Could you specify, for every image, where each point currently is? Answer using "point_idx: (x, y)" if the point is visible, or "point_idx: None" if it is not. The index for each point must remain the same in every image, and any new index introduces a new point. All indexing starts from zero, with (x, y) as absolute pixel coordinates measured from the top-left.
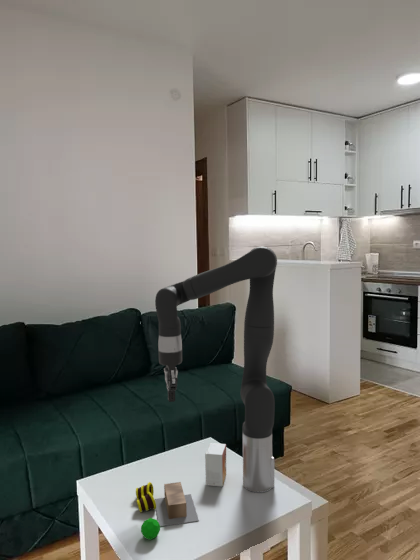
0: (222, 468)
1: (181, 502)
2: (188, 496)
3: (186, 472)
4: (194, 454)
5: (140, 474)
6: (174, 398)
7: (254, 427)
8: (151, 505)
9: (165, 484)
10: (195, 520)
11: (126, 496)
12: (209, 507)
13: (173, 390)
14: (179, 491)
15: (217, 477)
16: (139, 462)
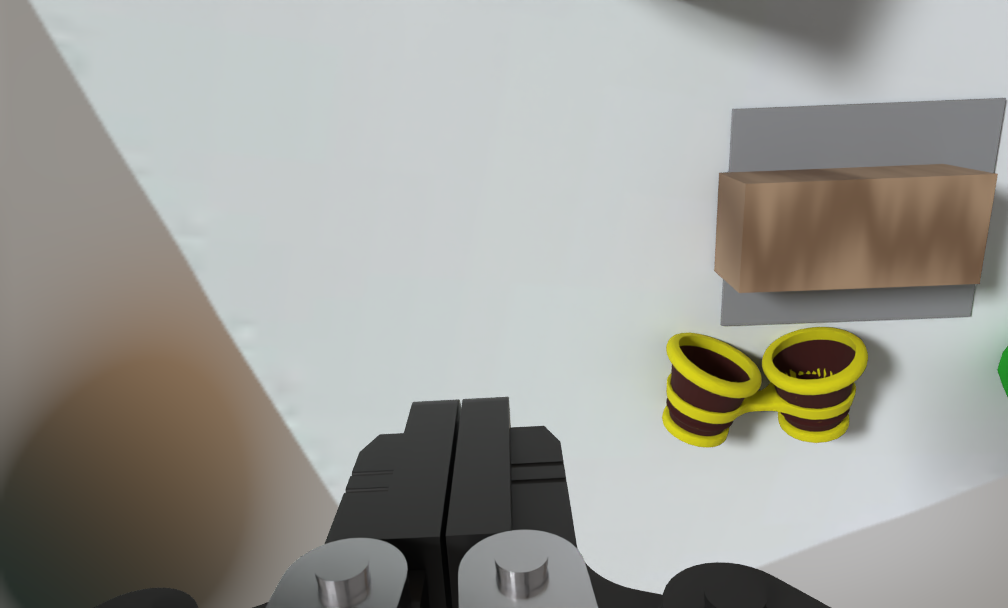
0: None
1: (979, 203)
2: (753, 127)
3: (459, 103)
4: (203, 6)
5: (432, 393)
6: (510, 432)
7: None
8: (852, 360)
9: (747, 285)
10: (997, 117)
11: (646, 465)
12: (898, 8)
13: (610, 602)
14: (855, 203)
15: None
16: (283, 397)
